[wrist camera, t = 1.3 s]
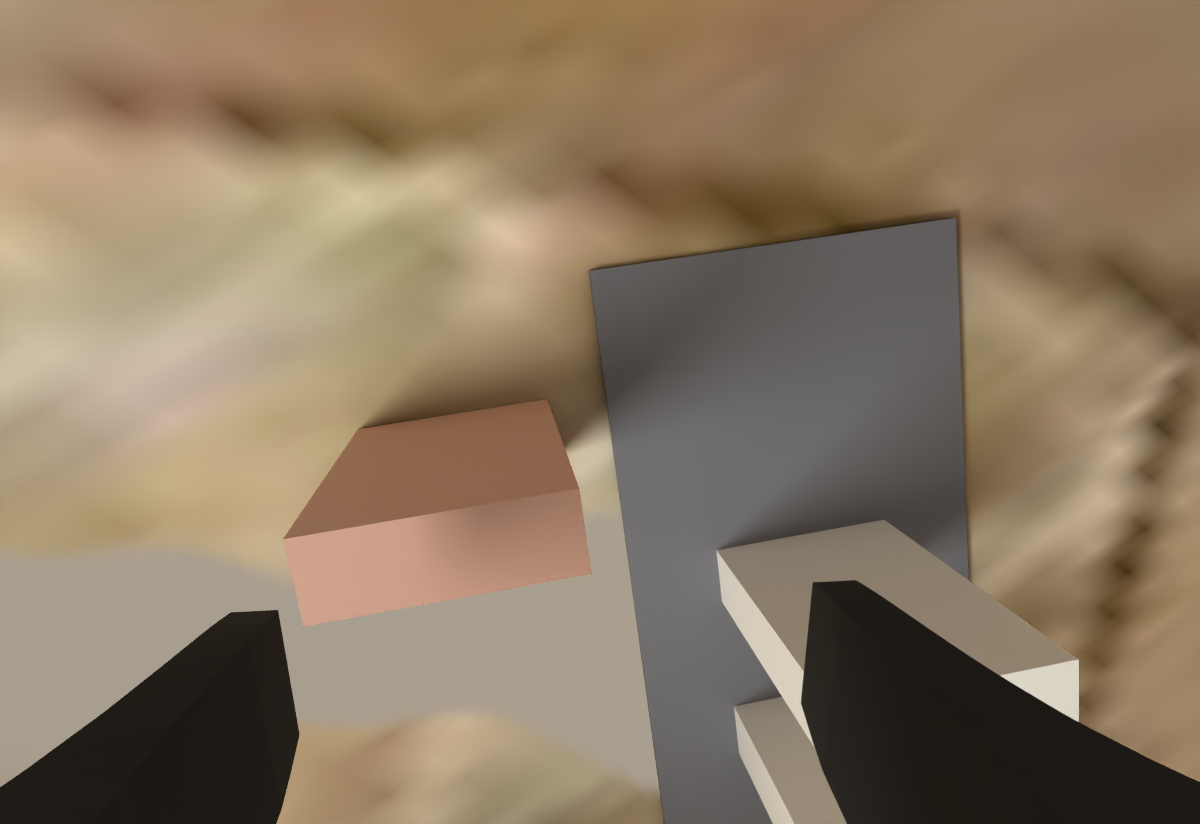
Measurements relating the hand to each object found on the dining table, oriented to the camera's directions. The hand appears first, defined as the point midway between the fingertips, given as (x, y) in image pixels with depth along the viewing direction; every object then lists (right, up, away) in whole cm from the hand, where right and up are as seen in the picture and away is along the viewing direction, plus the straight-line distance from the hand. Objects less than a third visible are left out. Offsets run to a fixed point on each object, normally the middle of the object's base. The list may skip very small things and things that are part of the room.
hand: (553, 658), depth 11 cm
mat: (+7, -6, +14) cm, 17 cm away
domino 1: (-3, +3, +11) cm, 11 cm away
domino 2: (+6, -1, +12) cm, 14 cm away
